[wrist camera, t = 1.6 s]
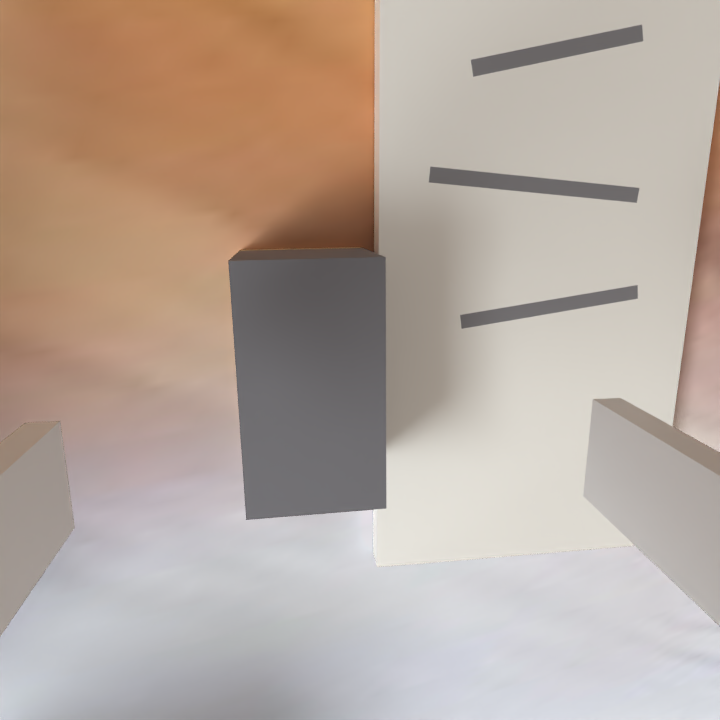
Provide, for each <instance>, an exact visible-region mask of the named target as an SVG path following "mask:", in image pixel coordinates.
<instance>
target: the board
mask: <svg viewBox="0 0 720 720" xmlns="http://www.w3.org/2000/svg"><path fill="white" fill-rule="evenodd" d="M719 82H720V0H375V97H374V253H377V254H379V255H382V256H384V257H386V509H374V510H373V554H374V558H375V561H376V565H377V567H387V566H399V565H411V564H423V563H435V562H447V561H459V560H471V559H483V558H495V557H507V556H519V555H531V554H543V553H555V552H567V551H579V550H591V549H603V548H615V547H627V546H635V545H634V544H633V543H632V542H631V541H630V540H629V539H628V538H627V537H625V536H624V535H623V534H622V533H621V532H620V531H619V530H618V529H617V528H616V527H615V526H614V525H613V524H612V523H611V522H610V521H609V520H608V519H607V518H606V517H604V516H603V515H602V514H601V513H600V512H599V511H598V510H597V509H596V508H595V507H594V506H593V505H592V504H591V503H590V502H589V501H588V500H587V499H586V498H585V497H584V496H583V493H584V483H585V473H586V462H587V452H588V442H589V432H590V422H591V412H592V402H593V399H606V398H622V399H623V400H625V401H627V402H629V403H631V404H633V405H634V406H636V407H638V408H640V409H642V410H643V411H645V412H647V413H649V414H651V415H653V416H654V417H656V418H658V419H660V420H662V421H663V422H665V423H667V424H669V425H671V426H673V419H674V411H675V404H676V397H677V389H678V382H679V375H680V367H681V360H682V353H683V345H684V338H685V331H686V323H687V316H688V309H689V301H690V294H691V287H692V279H693V272H694V265H695V257H696V250H697V243H698V236H699V228H700V221H701V214H702V206H703V199H704V192H705V184H706V177H707V170H708V162H709V155H710V148H711V140H712V133H713V126H714V118H715V111H716V104H717V96H718V89H719Z"/></svg>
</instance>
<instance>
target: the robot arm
mask: <svg viewBox="0 0 720 720" xmlns="http://www.w3.org/2000/svg"><path fill="white" fill-rule="evenodd" d="M583 496H584V497H585V498H586V499H587V500H588V501H589V502H590V503H591V504H592V505H593V506H594V507H595V508H596V509H597V510H598V511H599V512H600V513H601V514H602V515H603V516H604V517H606V518H607V519H608V520H609V521H610V522H611V523H612V524H613V525H614V526H615V527H616V528H617V529H618V530H619V531H620V532H621V533H622V534H623V535H624V536H625V537H627V538H628V539H629V540H630V541H631V542H632V543H633V544H634V545H635V546H636V547H637V548H638V549H639V550H640V551H641V552H642V553H643V554H644V555H645V556H646V557H647V558H649V559H650V560H651V561H652V562H653V563H654V564H655V565H656V566H657V567H658V568H659V569H660V570H661V571H662V572H663V573H664V574H665V575H666V576H667V577H668V578H669V579H671V580H672V581H673V582H674V583H675V584H676V585H677V586H678V587H679V588H680V589H681V590H682V591H683V592H684V593H685V594H686V595H687V596H688V597H689V598H690V599H691V600H693V601H694V602H695V603H696V604H697V605H698V606H699V607H700V608H701V609H702V610H703V611H704V612H705V613H706V614H707V615H708V616H709V617H710V618H711V619H712V620H714V621H715V622H716V623H717V624H718V625H719V626H720V452H718V451H716V450H714V449H712V448H711V447H709V446H707V445H705V444H703V443H702V442H700V441H698V440H696V439H694V438H692V437H691V436H689V435H687V434H685V433H683V432H682V431H680V430H678V429H676V428H674V427H672V426H671V425H669V424H667V423H665V422H663V421H662V420H660V419H658V418H656V417H654V416H653V415H651V414H649V413H647V412H645V411H643V410H642V409H640V408H638V407H636V406H634V405H633V404H631V403H629V402H627V401H625V400H623V399H622V398H606V399H593V402H592V412H591V422H590V432H589V442H588V452H587V462H586V473H585V483H584V493H583ZM74 528H75V527H74V519H73V512H72V505H71V497H70V490H69V483H68V475H67V468H66V460H65V453H64V446H63V438H62V431H61V424H60V421H55V422H31V423H24V424H23V425H22V426H21V427H19V428H18V429H17V430H16V431H14V432H13V433H12V434H11V435H9V436H8V437H7V438H6V439H4V440H3V441H2V442H0V636H1V635H2V633H3V632H4V630H5V629H6V627H7V626H8V624H9V623H10V621H11V620H12V619H13V617H14V616H15V614H16V613H17V611H18V610H19V608H20V607H21V605H22V604H23V602H24V601H25V600H26V598H27V597H28V595H29V594H30V592H31V591H32V589H33V588H34V586H35V585H36V583H37V582H38V581H39V579H40V578H41V576H42V575H43V573H44V572H45V570H46V569H47V567H48V566H49V564H50V563H51V561H52V560H53V559H54V557H55V556H56V554H57V553H58V551H59V550H60V548H61V547H62V545H63V544H64V542H65V541H66V540H67V538H68V537H69V535H70V534H71V532H72V531H73V529H74Z"/></svg>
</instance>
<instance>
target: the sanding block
mask: <svg viewBox="0 0 720 720" xmlns="http://www.w3.org/2000/svg"><path fill="white" fill-rule="evenodd" d="M229 275H230V290H231V304H232V319H233V333H234V348H235V362H236V377H237V391H238V406H239V420H240V435H241V449H242V464H243V478H244V493H245V507H246V520H249V519H262V518H274V517H287V516H299V515H312V514H324V513H337V512H349V511H362V510H374V509H386V257H384V256H382V255H379V254H377V253H374V252H372V251H369V250H367V249H364V248H362V247H347V248H302V249H257V250H240V251H239V252H238V253H237V254H235V255H234V256H233V257H232V258H231V259H230V260H229Z"/></svg>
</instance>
